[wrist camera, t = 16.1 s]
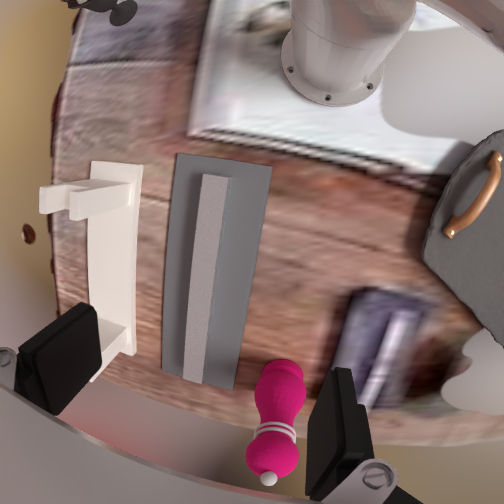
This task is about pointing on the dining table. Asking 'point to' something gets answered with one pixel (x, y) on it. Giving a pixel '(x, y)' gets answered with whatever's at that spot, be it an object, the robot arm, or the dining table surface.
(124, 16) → the sundae
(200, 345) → the rail
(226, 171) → the mat
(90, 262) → the rail stand
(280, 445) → the pepper mill
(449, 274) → the serving board
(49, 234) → the dining table surface
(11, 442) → the robot arm
